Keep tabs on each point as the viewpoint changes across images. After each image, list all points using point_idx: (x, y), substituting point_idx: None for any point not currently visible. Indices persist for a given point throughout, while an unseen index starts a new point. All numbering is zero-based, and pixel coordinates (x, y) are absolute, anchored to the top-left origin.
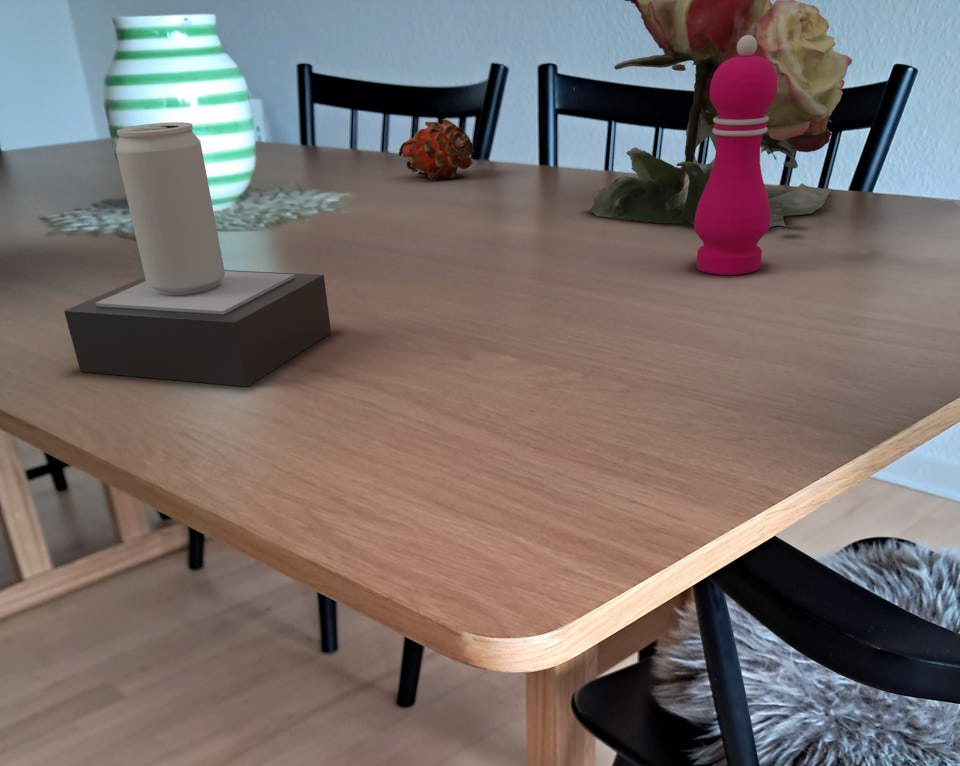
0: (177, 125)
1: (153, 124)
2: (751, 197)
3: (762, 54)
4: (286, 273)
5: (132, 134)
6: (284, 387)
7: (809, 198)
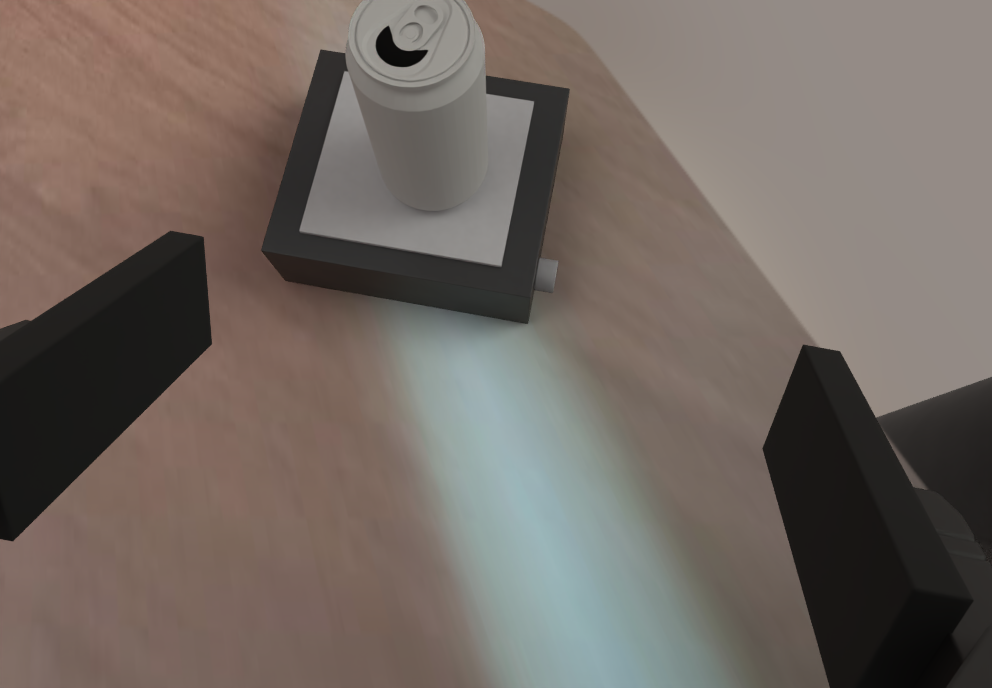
0: (385, 64)
1: (436, 74)
2: None
3: None
4: (319, 256)
5: None
6: (295, 98)
7: None
